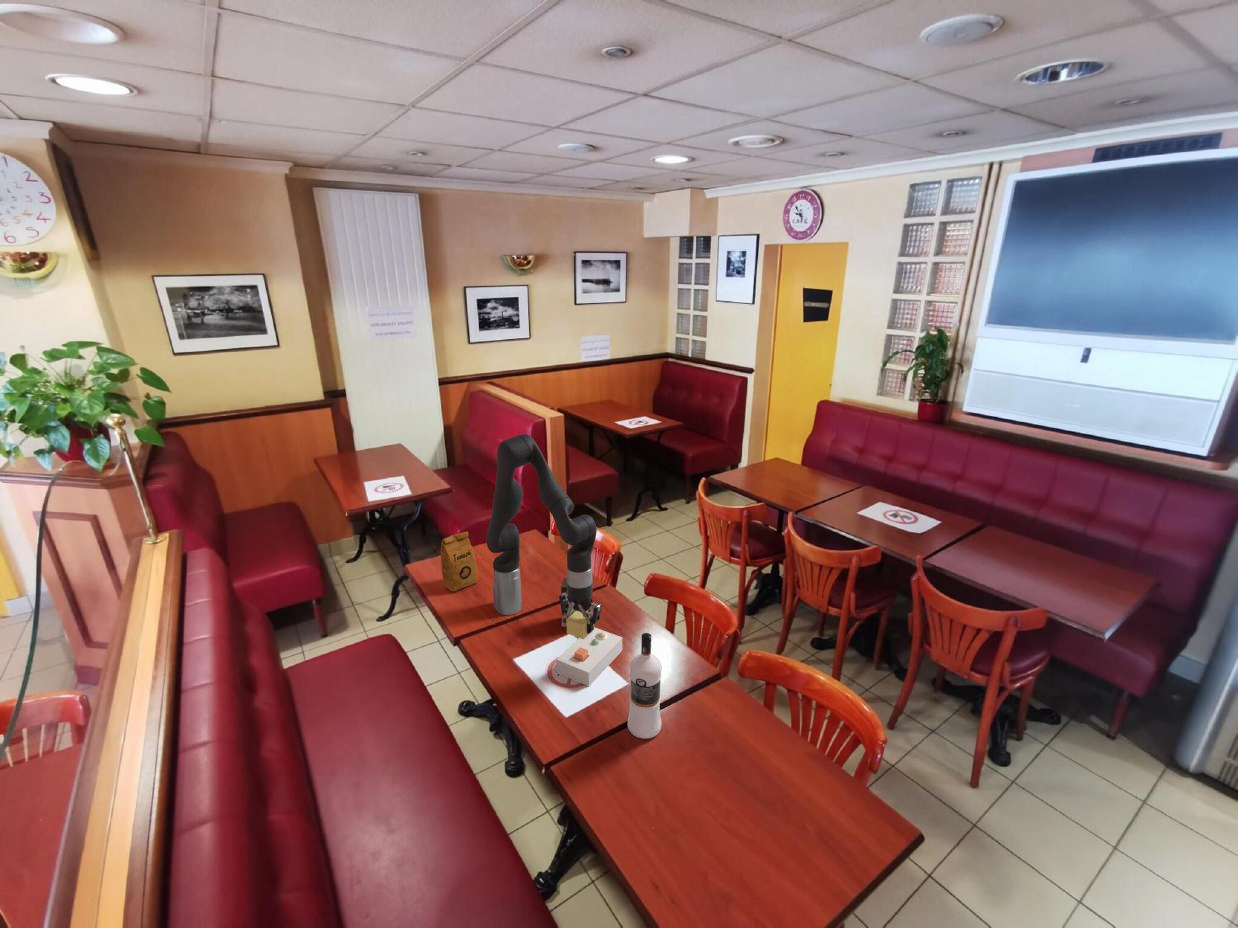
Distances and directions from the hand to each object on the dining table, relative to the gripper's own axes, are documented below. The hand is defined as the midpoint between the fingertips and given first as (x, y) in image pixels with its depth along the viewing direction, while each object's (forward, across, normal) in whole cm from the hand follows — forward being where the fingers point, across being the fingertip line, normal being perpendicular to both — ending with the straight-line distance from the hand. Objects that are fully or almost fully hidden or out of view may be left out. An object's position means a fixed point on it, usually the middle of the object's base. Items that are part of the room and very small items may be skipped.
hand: (580, 628), depth 178 cm
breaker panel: (+15, 0, +5) cm, 16 cm away
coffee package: (+15, -69, +18) cm, 73 cm away
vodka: (+15, +28, -11) cm, 34 cm away
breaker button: (+13, 0, 0) cm, 13 cm away
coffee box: (+15, -16, +20) cm, 30 cm away
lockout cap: (+1, 0, 0) cm, 1 cm away
